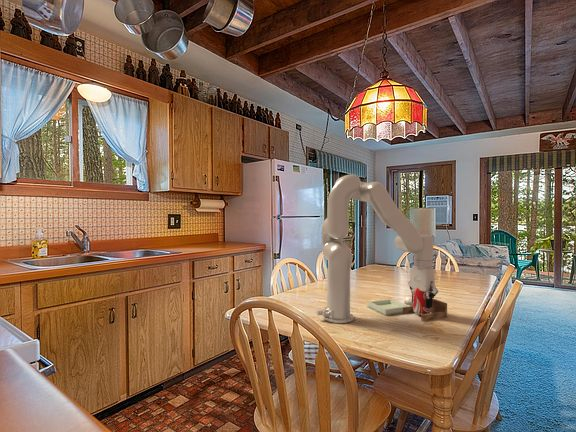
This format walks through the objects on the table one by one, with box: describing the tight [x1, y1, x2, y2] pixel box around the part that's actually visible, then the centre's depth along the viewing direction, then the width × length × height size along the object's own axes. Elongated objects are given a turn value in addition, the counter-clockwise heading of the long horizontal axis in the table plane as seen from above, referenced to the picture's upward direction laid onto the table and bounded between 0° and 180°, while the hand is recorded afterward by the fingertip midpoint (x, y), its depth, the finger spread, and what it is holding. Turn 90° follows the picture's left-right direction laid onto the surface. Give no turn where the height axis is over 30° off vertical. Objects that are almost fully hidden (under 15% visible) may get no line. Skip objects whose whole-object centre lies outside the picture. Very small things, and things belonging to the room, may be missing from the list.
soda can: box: [413, 286, 431, 316], centre depth 141 cm, size 7×7×12 cm
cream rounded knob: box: [404, 294, 413, 306], centre depth 159 cm, size 7×7×4 cm
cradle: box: [402, 298, 448, 322], centre depth 142 cm, size 13×12×6 cm
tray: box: [366, 298, 410, 317], centre depth 149 cm, size 13×13×3 cm
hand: (421, 304), depth 141 cm, fingers closed on soda can, 7 cm apart
